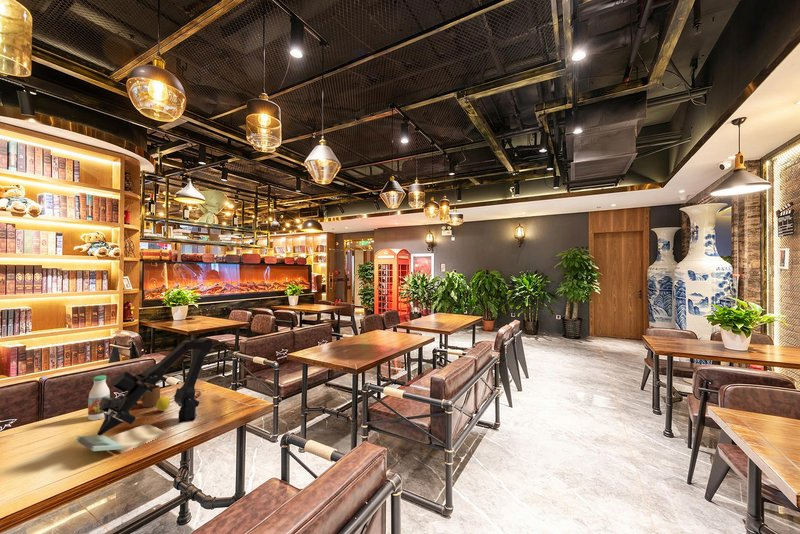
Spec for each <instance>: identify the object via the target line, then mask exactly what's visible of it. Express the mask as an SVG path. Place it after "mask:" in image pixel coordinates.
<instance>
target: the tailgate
mask: <svg viewBox="0 0 800 534" xmlns="http://www.w3.org/2000/svg"><path fill="white" fill-rule="evenodd" d="M108 437H109V436H108ZM108 437H107V436H106V435H84V436H83V435H82V436H80V435H79V436H77V437H76V439H75V440H76V441H77V443H79V444H80V445H82V446H83V447H84V448H87V450H89V451H91V452H98V451H99V452H102V451H113V450H114V451H116V449H121V447H122V445H120V444H118V443H116V442H115V441H113V440H111V439H110V438H108Z"/></svg>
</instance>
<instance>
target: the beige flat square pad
mask: <svg viewBox="0 0 800 534" xmlns="http://www.w3.org/2000/svg"><path fill="white" fill-rule="evenodd" d="M164 435H166V436H167V432H166V431H165V430H163V429H161V428H158V427H157V426H154V425H152V424H150V423H144V424H142V425H140V426H136V427H134V428H131V429H128V430H125V431H122V432H120V433H116V434H113V435H111V436H108V438H110V439H111V440H113V441H115V442H116V443H118V444H120V445H122V447H121V449H116V450H115V452H117V453H119V454H123V453H126V452H129V451H131V450H133V448H134V449H136V448H138V446H139V447H141V446H144V445H145V443H146V444H147V443H148V442H149V443H151V442H153V441H152V440H154V441H156V440H158V439H157V438H159V437H161V438H163V437H162V436H164ZM164 437H165V436H164ZM155 439H156V440H155ZM159 439H160V438H159ZM150 441H151V442H150ZM149 443H148V444H149ZM143 444H144V445H143Z"/></svg>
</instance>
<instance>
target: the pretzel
mask: <svg viewBox="0 0 800 534" xmlns="http://www.w3.org/2000/svg"><path fill="white" fill-rule="evenodd" d="M201 392H202V391H201V390H200V389H199V388H195V397H194V399H196V397H197V398H199V397H200V396H201V395H202V393H201Z"/></svg>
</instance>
